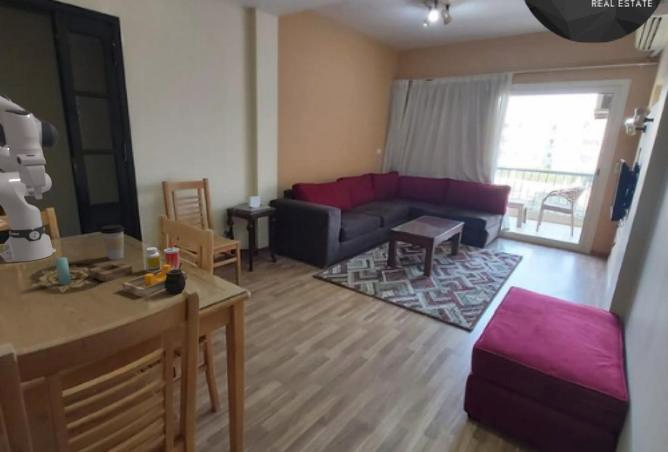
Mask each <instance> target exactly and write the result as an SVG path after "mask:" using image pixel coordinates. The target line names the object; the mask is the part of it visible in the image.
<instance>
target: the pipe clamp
mask: <svg viewBox="0 0 668 452" xmlns="http://www.w3.org/2000/svg"><path fill="white" fill-rule="evenodd" d="M161 269H162V272H160V273H158V274H156V276H154V274H149V273H146V274H144V277H145V284H144V285H145V286H144V287H147V286H149V285H152V284H154V283H157V282H159V281H162V280H165V279H166V277H167V276H166V272H167V271H169V270H171V265H167V264H166V263H165V264H163V265H162V266H161Z"/></svg>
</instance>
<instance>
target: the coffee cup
mask: <svg viewBox="0 0 668 452" xmlns="http://www.w3.org/2000/svg"><path fill="white" fill-rule="evenodd" d="M124 231H125V228H124V227H123V225H121V224H108V225H105V226H101V229H100V233H101V234H102V237H103V238H102V239H103V243H104V247H105V250H106V253H107V257H108V259H109V260H111V261H114V260H120V259H123V258H124V248H125V244H124V243H125V234H124Z"/></svg>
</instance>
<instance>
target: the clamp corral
mask: <svg viewBox="0 0 668 452" xmlns="http://www.w3.org/2000/svg"><path fill="white" fill-rule="evenodd" d="M172 269H173V268H171V270H172ZM160 272H162V268H160V270H157V271H154V272H148V274H154V276H156V274H158V273H160ZM182 274H183V277H184V279H185V281H186V280H188V273H187V272H186V271H184V270H182ZM144 275H145V274H144ZM144 275H140V276H138V277H135V278H133V279H129V280H126V281H124V282H122V283H121V286H122V291H123V292H126V293H130V294H131V295H135V296H138V297H139V298H145V297H148V296H150V295H152V294H154V293H157V292H160V291H162V290H164V289H165V286H164V284H165V280H166V279H165V280H162V281H159V282H157V283H154V284H152V285H149V286H147V287H146V286H144V287H141V286H142V285H145V277H144ZM165 290H166V289H165Z"/></svg>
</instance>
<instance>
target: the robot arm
mask: <svg viewBox="0 0 668 452" xmlns="http://www.w3.org/2000/svg"><path fill="white" fill-rule="evenodd" d="M59 140H60V135H59V131H58V130H57V128H56V127H55V126H54V125H53V124H51V123H50V122H49V121H45V120H43V119H41V118H40V117H38V116H37V115H35V114H34V113H32V112H31V111H29V110H28V109H26V107H23V106H21V105H19V104H18V103H15V102H12V100H11V98H10V97H8V95H7V94H6V93H4V92H1V91H0V170H3V171H4V172H0V206H1V207H2V208H3V210H4V211H5V214H6V217H7V221H8V224H9V229H8V235H9V237H8V239H7V240H6V241H5V242H4V245H3V244H2V245H1V250H2V252H0V257H1V258H2V259H3V261H4V262H5V263H14V262H15V263H16V262H17V263H18V262H31V261H37V260H41V259H45V258H47V257H50V256H51V255H53V253H56V252H57V249H56V248H53V246H52V242H51V238H50V236H49V235H48V234H46V229H45V226H44V225H43V222H42V220H43V219H42V215H41V211H40V209H39V208H38V207H37V206H35V205H33V204H30V203H28V202H27V200H26V199H25V197H28V196H29V197H34V199H36V200H42V199H43V193H45V192H48V191H50V189H51V188H52V185H53V184H52V179H51V177H50V175H49V174H48V173H46V168H45V165H46V164H47V163H46V162H47V161H46V159H45V157H44V153H43V152H44V151H43V149H46V150H47V149H48V150H49V149H50V150H51V149H53V148H54V147H55V146H56V145H57V144H58V142H59Z"/></svg>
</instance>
